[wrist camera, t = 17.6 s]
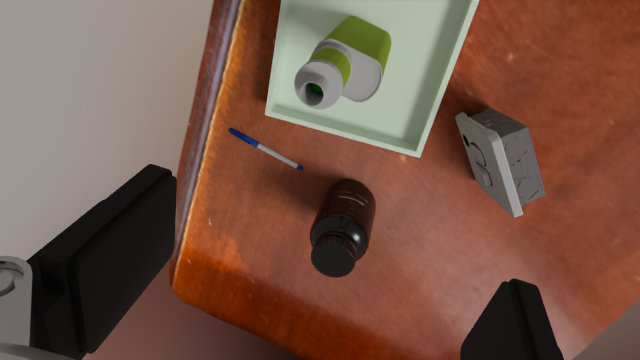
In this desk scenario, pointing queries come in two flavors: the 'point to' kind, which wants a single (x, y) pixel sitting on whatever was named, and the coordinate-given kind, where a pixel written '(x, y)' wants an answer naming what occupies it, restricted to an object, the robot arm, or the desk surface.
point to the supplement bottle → (342, 228)
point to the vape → (344, 65)
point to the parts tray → (399, 75)
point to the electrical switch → (502, 159)
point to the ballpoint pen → (264, 148)
